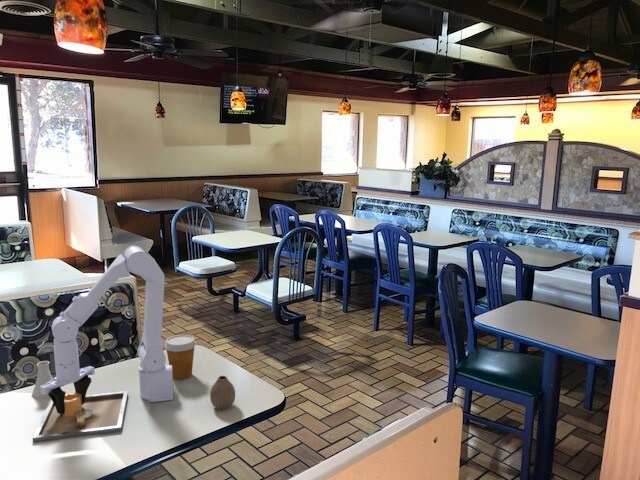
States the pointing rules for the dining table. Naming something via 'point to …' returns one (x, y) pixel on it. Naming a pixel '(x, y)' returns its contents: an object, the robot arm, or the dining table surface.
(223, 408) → the vase
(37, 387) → the flask
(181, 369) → the disposable coffee cup
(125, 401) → the square tray
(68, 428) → the carrier plate
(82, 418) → the carrier pin
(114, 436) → the dining table surface
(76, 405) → the gear
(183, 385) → the dining table surface
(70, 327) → the robot arm
